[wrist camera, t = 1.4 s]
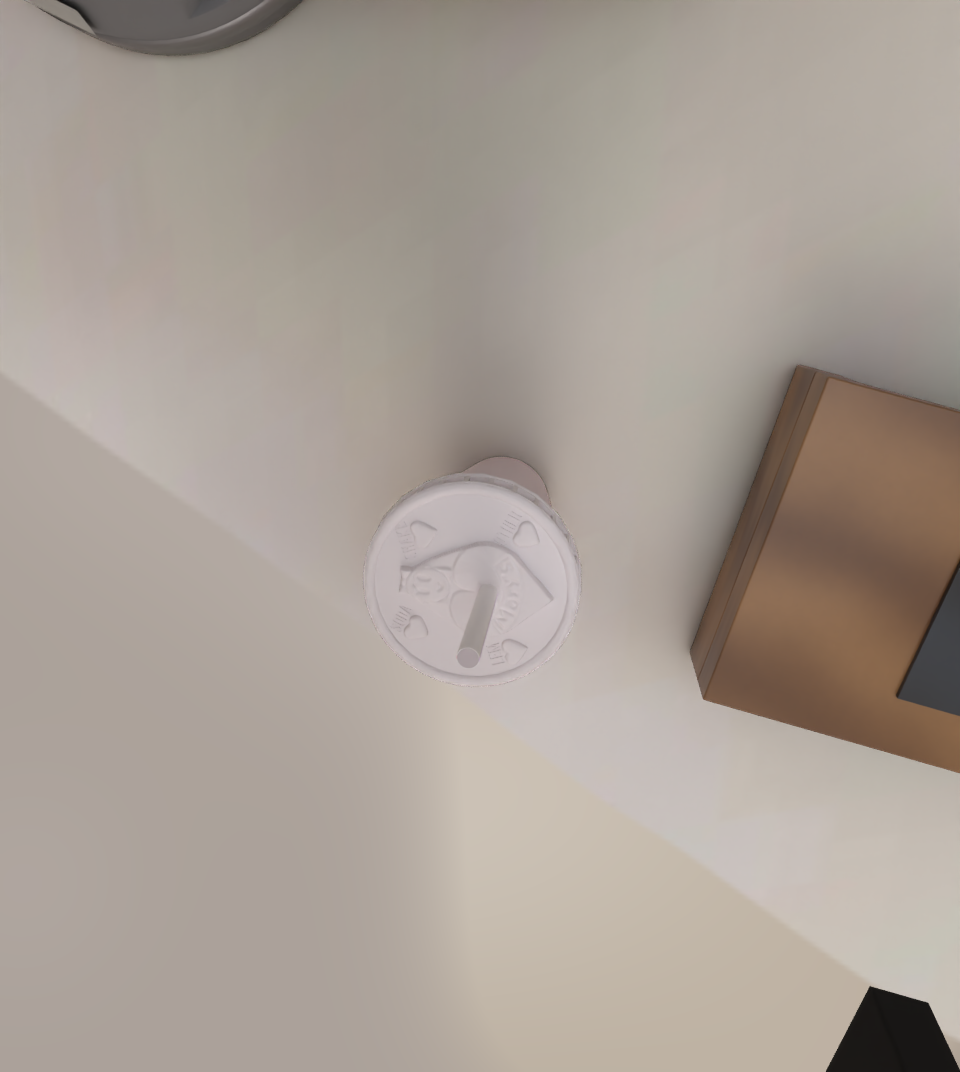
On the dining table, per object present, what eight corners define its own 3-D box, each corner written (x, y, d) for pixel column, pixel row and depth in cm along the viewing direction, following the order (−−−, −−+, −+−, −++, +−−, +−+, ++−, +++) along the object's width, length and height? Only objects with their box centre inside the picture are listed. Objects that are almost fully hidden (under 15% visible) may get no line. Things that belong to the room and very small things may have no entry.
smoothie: (572, 587, 33) (564, 790, 20) (417, 567, 34) (308, 753, 21) (593, 431, 31) (598, 542, 18) (427, 413, 32) (315, 508, 19)
